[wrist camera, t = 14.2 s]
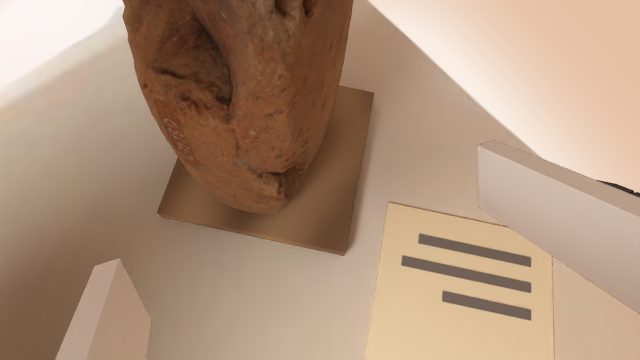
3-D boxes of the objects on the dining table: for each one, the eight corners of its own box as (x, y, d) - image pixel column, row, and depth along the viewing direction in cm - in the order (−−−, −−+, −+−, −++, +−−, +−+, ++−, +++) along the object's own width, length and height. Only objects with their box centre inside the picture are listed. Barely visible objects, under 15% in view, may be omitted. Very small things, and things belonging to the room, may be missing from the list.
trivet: (161, 216, 28) (157, 212, 27) (217, 68, 32) (214, 60, 31) (343, 255, 27) (345, 252, 26) (371, 99, 32) (373, 92, 31)
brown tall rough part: (251, 78, 31) (185, -307, 12) (341, 107, 30) (412, -249, 12) (189, 200, 27) (-44, -99, 8) (291, 236, 26) (280, 3, 8)
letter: (350, 457, 23) (350, 459, 23) (387, 203, 29) (388, 202, 29) (555, 504, 23) (557, 506, 22) (549, 237, 29) (551, 236, 28)
